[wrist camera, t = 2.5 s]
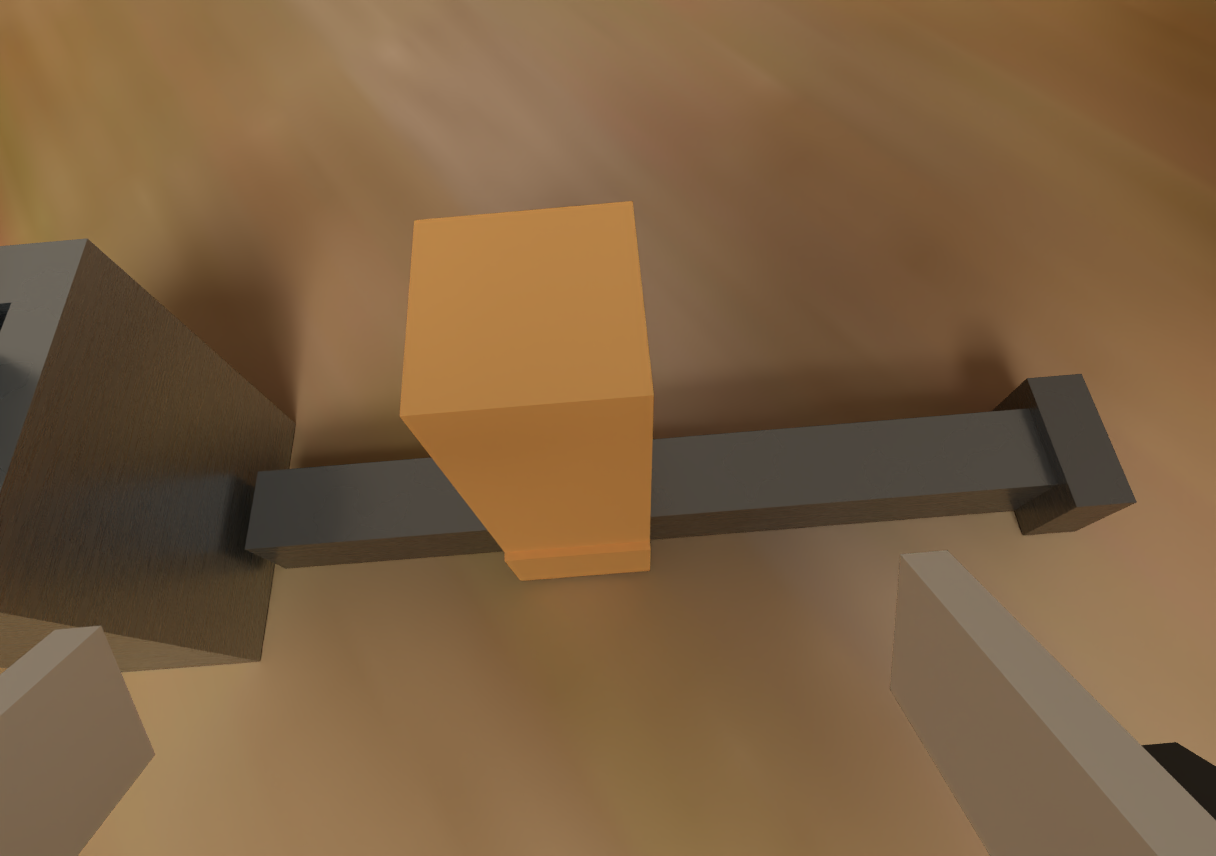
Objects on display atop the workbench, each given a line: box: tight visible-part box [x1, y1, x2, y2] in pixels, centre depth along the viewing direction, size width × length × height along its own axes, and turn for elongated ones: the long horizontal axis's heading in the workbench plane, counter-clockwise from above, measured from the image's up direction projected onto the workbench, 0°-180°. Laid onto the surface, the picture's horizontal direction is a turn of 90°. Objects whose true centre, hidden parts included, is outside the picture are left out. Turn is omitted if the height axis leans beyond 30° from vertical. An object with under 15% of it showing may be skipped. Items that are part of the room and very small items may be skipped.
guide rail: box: [245, 374, 1136, 568], centre depth 25 cm, size 31×5×4 cm, turn 94°
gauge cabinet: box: [0, 239, 295, 672], centre depth 22 cm, size 7×10×12 cm
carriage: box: [400, 201, 654, 581], centre depth 20 cm, size 5×6×14 cm
